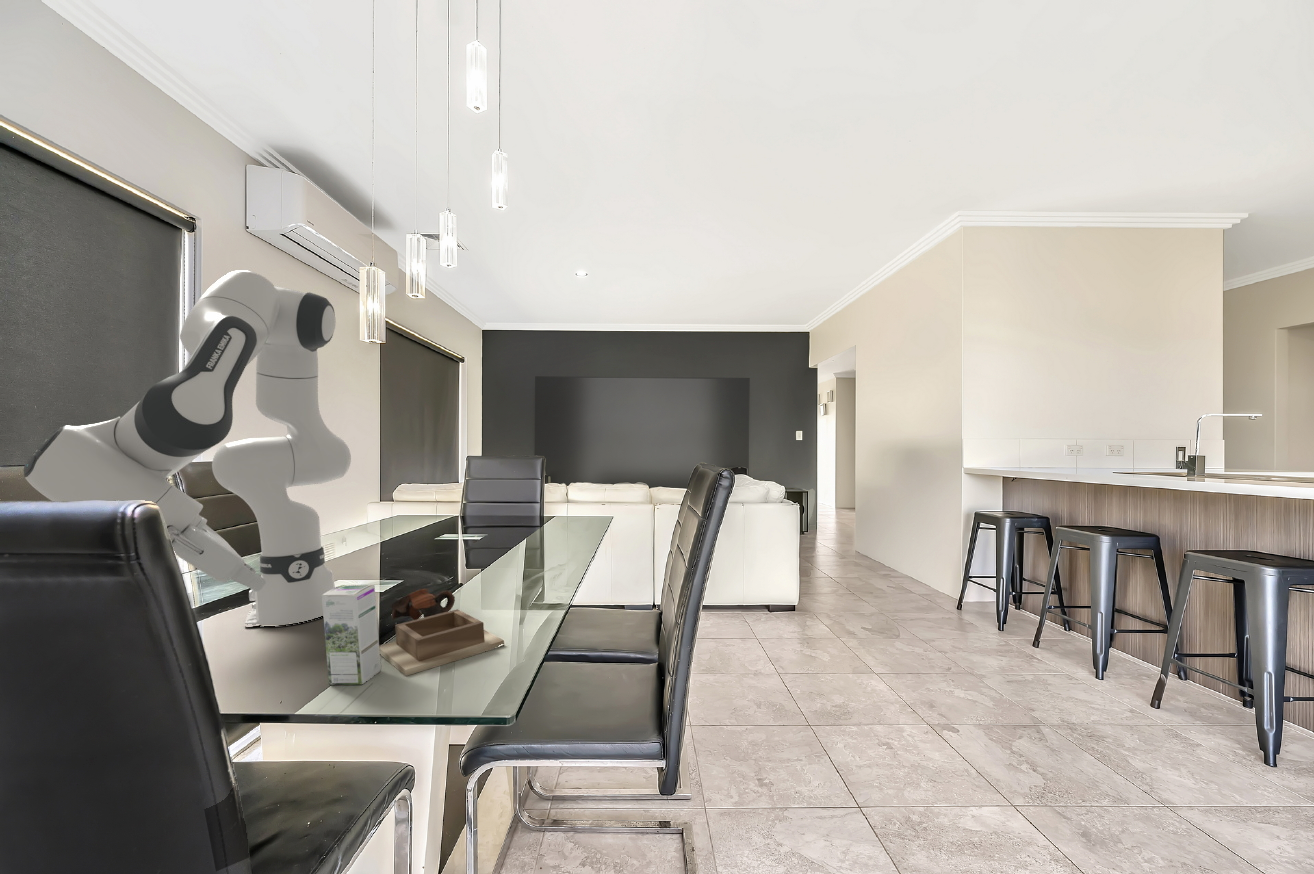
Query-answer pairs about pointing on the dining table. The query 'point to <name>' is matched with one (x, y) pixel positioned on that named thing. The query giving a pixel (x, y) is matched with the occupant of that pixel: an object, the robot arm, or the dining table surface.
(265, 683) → the dining table surface
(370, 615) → the syrup box
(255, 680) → the dining table surface
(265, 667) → the dining table surface
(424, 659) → the board
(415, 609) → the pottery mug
